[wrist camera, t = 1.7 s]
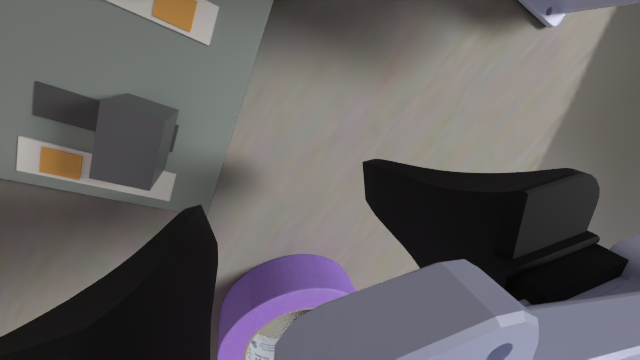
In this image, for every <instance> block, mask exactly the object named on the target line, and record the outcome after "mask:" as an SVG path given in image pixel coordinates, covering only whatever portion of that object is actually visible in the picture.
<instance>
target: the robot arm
mask: <svg viewBox="0 0 640 360" xmlns="http://www.w3.org/2000/svg"><path fill="white" fill-rule="evenodd" d="M518 1H519V2H520V3H521V4H523V5H524V6H525V7H526V8H527V9H528V10H529V11H530V12H531V13H532V14H533V15H535V16H536V17H537V18H538V19H539V20H540V21H541V22H542V23H543V24H544V25H546V26H547V27H549V28H550V27H556V26H557V25H558V24H559V23H560V22H561V20H562V18H563V17H564V15H565V14H566V13H570V12H577V11H584V10H591V9H598V8H605V7H612V6H619V5H625V4H632V3H639V2H640V0H518ZM363 173H364V185H365V198H366V201H367V203H368V204H369V206H370V208H371V209H372V211H373V212H374V214H375V215H376V216H377V217H378V219H379V220H380V221H381V222H382V223H383V224H384V225H385V226H386V228H387V229H388V230H389V231H390V232H391V233H392V234H393V235H394V236H395V238H396V239H397V240H398V241H399V242H400V243H401V244H402V245H403V246H404V247H405V249H406V250H407V251H408V252H409V254H410V255H411V256H412V258H413V259H414V260H415V262H416V263H417V264H418V266H419V267H420V269H418V270H415V271H412V272H409V273H407V274H404V275H401V276H398V277H396V278H393V279H390V280H387V281H385V282H382V283H379V284H376V285H373V286H371V287H368V288H365V289H362V290H360V291H357V292H354V293H351V294H349V295H346V296H343V297H340V298H337V299H335V300H332V301H329V302H326V303H324V304H321V305H319V306H317V307H316V308H314V309H312V310H310V311H309V312H307V313H305V314H303V315H302V316H300V317H298V318H296V319H295V320H294V321H293V322H292V323H291V325H290V326H289V327H288V329H287V330H286V331H285V332H284V334H283V335H282V336H281V338H280V339H279V340H278V341H277V343H276V344H275V353H274V360H640V233H639V234H637V235H634V236H632V237H629V238H627V239H625V240H622V241H620V242H618V243H616V244H614V245H613V246H612V247H611V248H610V249H609V250H608V249H606V248H604V247H602V246H600V245H598V244H596V243H598V242H599V240H600V238H599V236H598V235H596V234H594V233H592V232H589V231H587V228H588V226H589V223H590V221H591V218H592V216H593V213H594V210H595V208H596V205H597V202H598V198H599V186H598V183H597V180H596V178H594V177H593V176H592V175H590V174H587V173H584V172H581V171H578V170H575V169H570V168H560V169H551V170H541V171H531V172H516V173H463V172H451V171H442V170H434V169H428V168H422V167H417V166H412V165H407V164H402V163H397V162H393V161H388V160H382V159H373V160H369V161H365V162H363ZM217 267H218V245H217V241H216V239H215V236H214V234H213V231H212V229H211V227H210V224H209V222H208V219H207V217H206V215H205V212H204V210H203V208H202V205H197V206H193V207H189V208H186V209H184V210H183V211H181V212H180V213H179V214H178V215H177V216H176V217H175V218H174V219H173V220H171V221H170V222H169V223H168V224H167V225H166V226H165V227H164V228H163V229H162V230H161V231H160V232H159V233H158V234H157V235H155V236H154V237H153V238H152V239H151V240H150V241H149V242H147V243H146V244H145V245H144V246H143V247H142V248H141V249H139V250H138V251H137V252H136V253H135V254H134V255H132V256H131V257H130V258H129V259H127V260H126V261H125V262H123V263H122V264H121V265H119V266H118V267H117V268H115V269H114V270H113V271H111V272H110V273H109V274H107V275H106V276H104V277H103V278H101V279H100V280H98V281H97V282H95V283H94V284H92V285H91V286H89V287H87V288H86V289H84V290H83V291H81V292H80V293H78V294H77V295H75V296H74V297H72V298H70V299H69V300H67V301H65V302H64V303H62V304H60V305H59V306H57V307H55V308H53V309H52V310H50V311H48V312H47V313H45V314H43V315H41V316H39V317H38V318H36V319H34V320H32V321H30V322H28V323H27V324H25V325H23V326H21V327H19V328H17V329H15V330H14V331H12V332H10V333H8V334H6V335H4V336H2V337H0V360H210V327H211V313H212V306H213V298H214V291H215V283H216V276H217Z"/></svg>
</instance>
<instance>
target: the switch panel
mask: <svg viewBox="0 0 640 360" xmlns="http://www.w3.org/2000/svg"><path fill="white" fill-rule="evenodd" d="M273 1H274V0H0V178H1V179H7V180H12V181H17V182H22V183H28V184H33V185H38V186H43V187H49V188H54V189H59V190H64V191H70V192H75V193H80V194H86V195H91V196H96V197H101V198H107V199H112V200H117V201H122V202H128V203H133V204H138V205H143V206H149V207H154V208H159V209H165V210H170V211H175V212H181V211H183V210H184V209H186V208H189V207H193V206H197V205H202V208H203V210H204V212H205V215H206V217H207V214H208V211H209V208H210V205H211V201H212V198H213V195H214V192H215V188H216V185H217V182H218V179H219V175H220V172H221V169H222V166H223V163H224V159H225V156H226V153H227V150H228V146H229V143H230V140H231V137H232V133H233V130H234V127H235V124H236V120H237V117H238V114H239V111H240V108H241V104H242V101H243V98H244V95H245V91H246V88H247V85H248V82H249V78H250V75H251V72H252V69H253V66H254V62H255V59H256V56H257V53H258V49H259V46H260V43H261V40H262V36H263V33H264V30H265V27H266V23H267V20H268V17H269V14H270V11H271V7H272V4H273ZM125 93H129V94H132V95H135V96H138V97H141V98H144V99H147V100H150V101H153V102H156V103H159V104H162V105H165V106H168V107H172V108H175V109H178V110H179V112H178V116H177V120H176V125H175V129H174V133H173V137H172V141H171V145H170V150H169V154H168V158H167V162H166V166H165V169H164V171H163V172H162V174H161V175H160V177H159V178H158V180H157V181H156V183H155V184H154V185H153V187H152V188H151V190H150V191H147V190H142V189H137V188H133V187H128V186H123V185H118V184H114V183H109V182H104V181H99V180H95V179H90V178H89V173H90V166H91V159H92V153H93V146H94V139H95V132H96V126H97V119H98V112H99V105H100V101H101V100H105V99H108V98H112V97H115V96H119V95H122V94H125Z"/></svg>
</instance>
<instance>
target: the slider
mask: <svg viewBox="0 0 640 360" xmlns="http://www.w3.org/2000/svg"><path fill="white" fill-rule="evenodd" d="M178 112H179V110H178V109H175V108H172V107H168V106H165V105H162V104H159V103H156V102H153V101H150V100H147V99H144V98H141V97H138V96H135V95H132V94H129V93H125V94H122V95H119V96H115V97H112V98H108V99H105V100H101V101H100V105H99V112H98V119H97V126H96V132H95V139H94V146H93V153H92V159H91V166H90V173H89V178H90V179H95V180H99V181H104V182H109V183H114V184H118V185H123V186H128V187H133V188H137V189H142V190H147V191H150V190H151V188H152V187H153V185H154V184H155V183H156V181H157V180H158V178H159V177H160V175H161V174H162V172H163V171H164V169H165V166H166V162H167V158H168V154H169V150H170V145H171V141H172V137H173V133H174V129H175V125H176V120H177V116H178Z"/></svg>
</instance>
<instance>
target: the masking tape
mask: <svg viewBox="0 0 640 360" xmlns="http://www.w3.org/2000/svg"><path fill="white" fill-rule="evenodd" d="M354 292H356V291H355V289H354V287H353V285H352V283H351V281H350V279H349V277H348V275H347V274H346V272H345V271H344V270H343V268H342V267H341V266H339V265H338V264H337V263H335V262H334V261H332V260H330V259H327V258H325V257H321V256H316V255H309V254H297V255H289V256H284V257H280V258H276V259H273V260H271V261H268V262H266V263H263V264H261V265H259V266H257V267H256V268H254V269H252V270H251V271H249V272H248V273H246V274H245V275H244V276H242V277H241V278H240V279H239V280H238V281H237V282H236V283H235V284H234V285H233V286H232V288H231V289H230V290H229V292H228V293H227V295H226V297H225V299H224V301H223V303H222V306H221V310H220V321H219V336H218V352H217V360H274V353H275V344H276V343H277V341H278V340H279V339H280V338H271V337H265V336H262V335H259V334H257V333H258V332H259V331H260V330H262V329H263V328H264V327H265V326H266V325H268V324H269V323H271V322H273V321H274V320H276V319H278V318H280V317H282V316H285V315H287V314H290V313H293V312H297V311H301V310H309V309H314V308H316V307H317V306H319V305H321V304H324V303H326V302H329V301H332V300H335V299H337V298H340V297H343V296H346V295H349V294H351V293H354Z"/></svg>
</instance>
